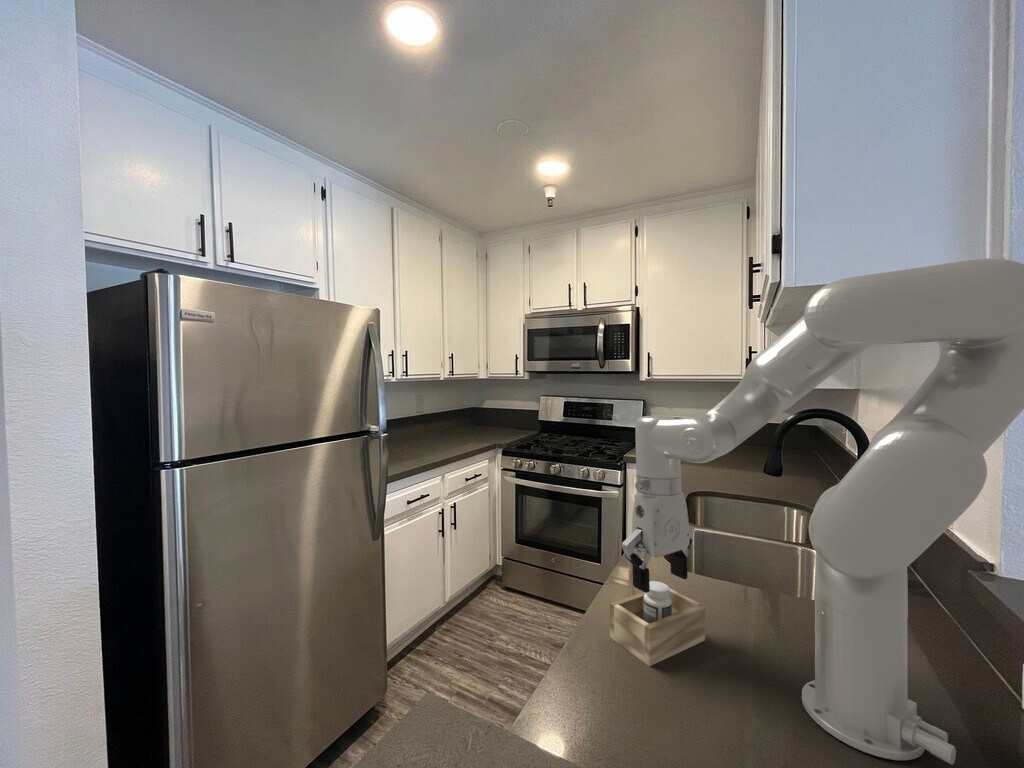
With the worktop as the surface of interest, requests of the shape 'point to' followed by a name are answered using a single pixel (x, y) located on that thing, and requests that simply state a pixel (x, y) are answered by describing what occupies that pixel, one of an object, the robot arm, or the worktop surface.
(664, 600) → the pill bottle
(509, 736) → the worktop surface
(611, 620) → the open wooden box
